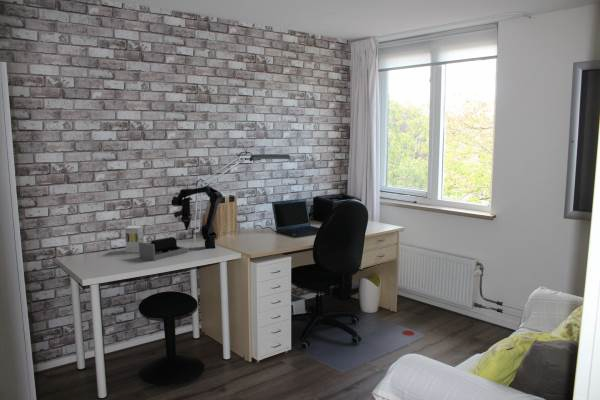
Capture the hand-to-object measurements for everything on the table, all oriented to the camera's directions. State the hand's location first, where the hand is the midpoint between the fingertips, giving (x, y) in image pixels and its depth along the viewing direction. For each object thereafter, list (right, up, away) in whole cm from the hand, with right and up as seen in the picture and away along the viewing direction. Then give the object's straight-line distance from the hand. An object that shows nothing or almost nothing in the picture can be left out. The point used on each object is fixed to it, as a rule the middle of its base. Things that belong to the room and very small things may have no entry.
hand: (187, 228), depth 345 cm
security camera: (-8, -15, -24) cm, 30 cm away
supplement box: (-32, -15, -13) cm, 37 cm away
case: (-9, -15, -25) cm, 31 cm away
